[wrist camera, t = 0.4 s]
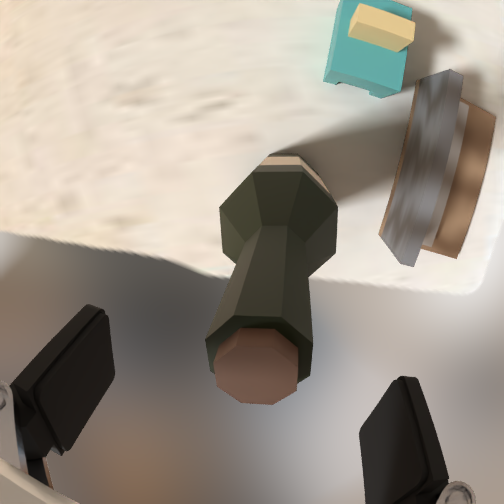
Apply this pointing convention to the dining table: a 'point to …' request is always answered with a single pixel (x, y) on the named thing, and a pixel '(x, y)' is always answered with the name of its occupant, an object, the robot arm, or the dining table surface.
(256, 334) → the wine bottle
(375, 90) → the teal block
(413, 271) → the dining table surface
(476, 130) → the wall board
